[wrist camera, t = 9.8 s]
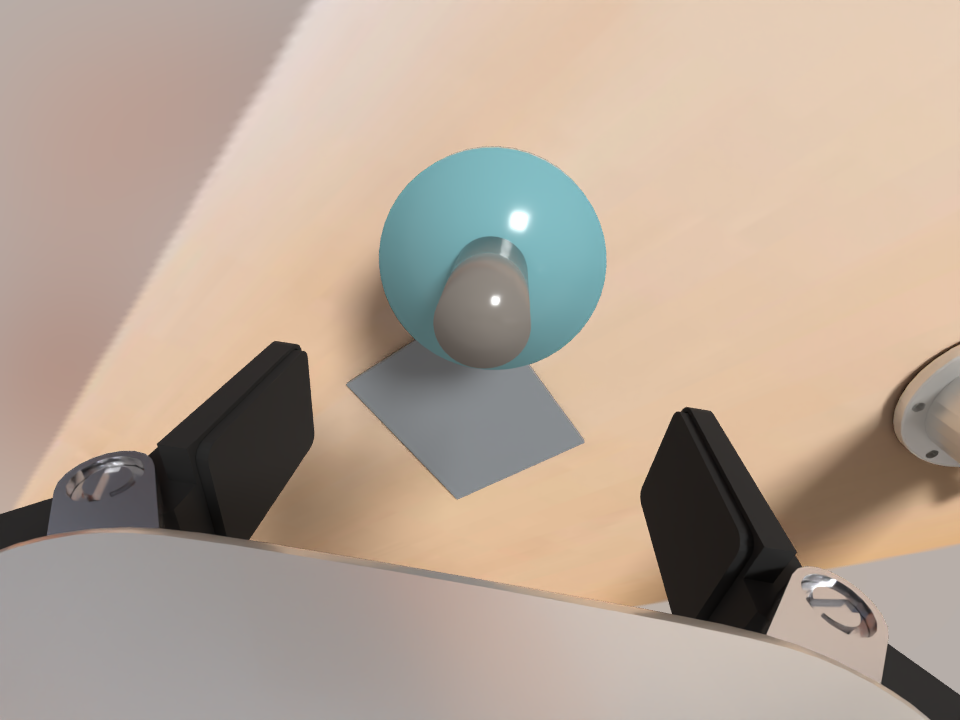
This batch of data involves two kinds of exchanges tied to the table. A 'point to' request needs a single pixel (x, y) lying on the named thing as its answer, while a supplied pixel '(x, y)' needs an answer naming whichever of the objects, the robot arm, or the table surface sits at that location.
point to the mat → (465, 416)
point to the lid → (492, 258)
